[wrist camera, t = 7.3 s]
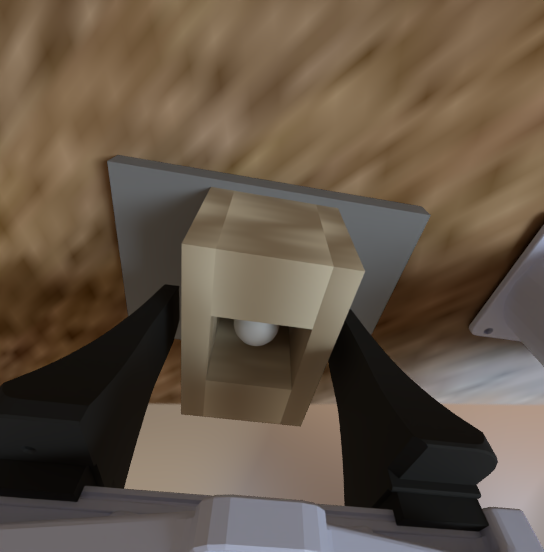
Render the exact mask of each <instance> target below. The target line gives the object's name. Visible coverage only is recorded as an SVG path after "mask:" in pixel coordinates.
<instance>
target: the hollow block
mask: <svg viewBox="0 0 544 552" xmlns="http://www.w3.org/2000/svg"><path fill="white" fill-rule="evenodd" d="M364 273H365V270H364V268H363V265H362V263H361V261H360V258H359V256H358V254H357V251H356V249H355V247H354V244H353V242H352V240H351V237H350V235H349V233H348V230H347V228H346V226H345V223H344V221H343V219H342V216H341V214H340V212H339V209H338V208H334V207H328V206H322V205H316V204H310V203H304V202H298V201H292V200H286V199H280V198H275V197H269V196H263V195H257V194H251V193H245V192H239V191H233V190H227V189H221V188H215V187H211V188H210V190H209V192H208V194H207V196H206V198H205V199H204V201H203V203H202V205H201V207H200V209H199V211H198V213H197V215H196V217H195V219H194V221H193V223H192V225H191V227H190V228H189V230H188V232H187V234H186V236H185V238H184V240H183V242H182V281H181V414H184V415H194V416H204V417H214V418H223V419H233V420H243V421H253V422H262V423H273V424H282V425H292V426H301V424H302V422H303V419H304V417H305V415H306V412H307V410H308V408H309V405H310V403H311V400H312V398H313V396H314V393H315V391H316V388H317V386H318V384H319V381H320V379H321V376H322V374H323V372H324V369H325V367H326V364H327V362H328V360H329V357H330V355H331V352H332V350H333V348H334V345H335V343H336V340H337V338H338V336H339V333H340V331H341V328H342V326H343V324H344V321H345V319H346V316H347V314H348V311H349V309H350V307H351V304H352V302H353V299H354V297H355V295H356V292H357V290H358V287H359V285H360V283H361V280H362V278H363V275H364ZM234 319H237V320H245V321H252V322H260V323H268V324H275V325H279V330H278V332H277V334H276V336H275V337H274V339H273V340H272V341H270V342H269V343H267V344H265V345H262V346H251V345H248V344H246V343H244V342H243V341H242V340H241V339H240V338H239V337H238V336H237V334H236V332H235V329H234Z"/></svg>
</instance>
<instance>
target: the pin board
mask: <svg viewBox="0 0 544 552" xmlns="http://www.w3.org/2000/svg"><path fill="white" fill-rule="evenodd" d="M107 163H108V171H109V178H110V185H111V193H112V200H113V208H114V215H115V222H116V230H117V237H118V245H119V252H120V259H121V267H122V274H123V281H124V289H125V296H126V304H127V311H128V316H130V315H131V314H132V313H133V312H134V311H136V310H137V309H138V308H139V307H140V306H141V305H143V304H144V303H145V302H146V301H147V300H148V299H149V298H150V297H152V296H153V295H154V294H155V293H156V292H157V291H158V290H159V289H160V288H161V287H162V286H163V285H165V284H168V285H176V286H179V304H180V321H179V324H178V328H177V331H176V335H175V338H174V339H180V340H181V281H182V242H183V240H184V238H185V236H186V234H187V232H188V230H189V228H190V227H191V225H192V223H193V221H194V219H195V217H196V215H197V213H198V211H199V209H200V207H201V205H202V203H203V201H204V199H205V198H206V196H207V194H208V192H209V190H210V188H211V187H215V188H221V189H227V190H233V191H239V192H245V193H251V194H257V195H263V196H269V197H275V198H280V199H286V200H292V201H298V202H304V203H310V204H316V205H322V206H328V207H334V208H338V209H339V212H340V214H341V216H342V219H343V221H344V223H345V226H346V228H347V230H348V233H349V235H350V237H351V240H352V242H353V244H354V247H355V249H356V251H357V254H358V256H359V258H360V261H361V263H362V265H363V268H364V270H365V273H364V275H363V278H362V280H361V283H360V285H359V287H358V290H357V292H356V295H355V297H354V299H353V302H352V304H351V307H350V309H351V310H352V311H353V312H354V314H355V315H356V316H357V318H358V319H359V320H360V322H361V323H362V324H363V326H364V327H365V328H366V330H367V331H368V332H369V333H370V335H371V334H372V332H373V330H374V328H375V326H376V324H377V322H378V320H379V318H380V316H381V314H382V312H383V310H384V308H385V306H386V304H387V302H388V300H389V298H390V296H391V294H392V292H393V290H394V288H395V286H396V284H397V282H398V280H399V278H400V276H401V274H402V272H403V270H404V268H405V266H406V264H407V262H408V260H409V258H410V256H411V254H412V252H413V250H414V248H415V246H416V244H417V242H418V240H419V238H420V236H421V234H422V232H423V230H424V228H425V225H426V223H427V221H428V219H429V217H430V214H429V213H428V212H427V211H426V210H425V209H424V208H423V207H421V206H415V205H409V204H403V203H398V202H392V201H386V200H380V199H374V198H368V197H362V196H356V195H350V194H345V193H339V192H333V191H327V190H321V189H315V188H309V187H303V186H297V185H292V184H286V183H280V182H274V181H268V180H262V179H256V178H250V177H244V176H239V175H233V174H227V173H221V172H215V171H209V170H203V169H197V168H191V167H186V166H180V165H174V164H168V163H162V162H156V161H150V160H144V159H138V158H132V157H127V156H121V155H117V156H115V157H113V158H112V159H110V160H108V161H107ZM234 329H235V332H236V334H237V336H238V337H239V338H240V339H241V340H242V341H243V342H244V343H246V344H248V345H251V346H262V345H265V344H267V343H269V342H270V341H272V340H273V339H274V337H275V336H276V334H277V332H278V330H279V325H275V324H268V323H260V322H252V321H245V320H237V319H234Z"/></svg>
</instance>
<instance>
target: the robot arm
mask: <svg viewBox="0 0 544 552" xmlns="http://www.w3.org/2000/svg"><path fill="white" fill-rule="evenodd" d="M179 321H180V304H179V286H176V285H168V284H165V285H163V286H162V287H161V288H160V289H159V290H158V291H157V292H156V293H155V294H154V295H153V296H152V297H150V298H149V299H148V300H147V301H146V302H145V303H144V304H143V305H141V306H140V307H139V308H138V309H137V310H136V311H134V312H133V313H132V314H131V315H130V316H128V317H127V318H126V319H124V320H123V321H122V322H121V323H119V324H118V325H117V326H115V327H114V328H112V329H111V330H110V331H108V332H107V333H105V334H104V335H102V336H101V337H99V338H98V339H96V340H94V341H93V342H91V343H89V344H88V345H86V346H84V347H82V348H80V349H79V350H77V351H75V352H73V353H71V354H70V355H68V356H66V357H64V358H62V359H59V360H57V361H55V362H53V363H51V364H49V365H47V366H44V367H42V368H40V369H38V370H35V371H33V372H30V373H28V374H25V375H23V376H20V377H18V378H15V379H13V380H10V381H7V382H5V383H3V384H2V385H1V386H0V552H544V549H543V547H542V545H541V544H540V542H539V540H538V538H537V536H536V535H535V533H534V531H533V529H532V527H531V526H530V524H529V522H528V520H527V518H526V516H525V515H524V513H523V511H521V510H520V509H510V508H498V507H488V508H483V509H482V508H481V506H480V504H479V502H478V500H477V499H479V498H480V497H481V494H480V491H479V489H478V487H477V485H476V484H478V483H479V482H480V481H482V479H484V478H485V477H487V476H488V475H489V474H490V473H491V472H492V471H493V470H494V469H495V467H496V465H497V463H498V461H497V457H496V455H495V453H494V452H493V450H492V448H491V446H490V444H489V443H488V441H487V439H486V437H485V436H484V434H483V432H481V431H480V430H478V429H477V428H475V427H473V426H472V425H470V424H469V423H467V422H466V421H464V420H463V419H461V418H460V417H458V416H457V415H455V414H454V413H452V412H451V411H450V410H448V409H447V408H446V407H444V406H443V405H442V404H440V403H439V402H438V401H436V400H435V399H434V398H433V397H431V396H430V395H429V394H428V393H426V392H425V391H424V390H423V389H422V388H421V387H419V386H418V385H417V384H416V383H415V382H414V381H413V380H411V379H410V378H409V377H408V376H407V375H406V374H405V373H404V372H403V371H402V370H401V369H400V368H399V367H398V366H397V365H396V364H395V363H394V362H393V361H392V360H391V358H390V357H389V356H388V355H387V354H386V353H385V352H384V351H383V349H382V348H381V347H380V346H379V345H378V343H377V342H376V341H375V340H374V339H373V337H372V336H371V335H370V333H369V332H368V331H367V330H366V328H365V327H364V326H363V324H362V323H361V322H360V320H359V319H358V318H357V316H356V315H355V314H354V312H353V311H352V310H351V309H349V311H348V314H347V316H346V319H345V321H344V324H343V326H342V328H341V331H340V333H339V336H338V338H337V340H336V343H335V345H334V348H333V350H332V352H331V355H330V357H329V360H328V363H329V368H330V373H331V378H332V382H333V387H334V392H335V397H336V402H337V407H338V413H339V423H340V433H341V445H342V457H343V475H344V501H345V506H337V505H325V504H315V503H313V502H307V501H303V500H292V499H279V498H266V497H255V496H241V495H214V496H210V495H197V494H184V493H172V492H159V491H146V490H134V489H124V486H125V482H126V478H127V475H128V471H129V467H130V463H131V460H132V456H133V453H134V449H135V446H136V442H137V438H138V435H139V432H140V429H141V426H142V422H143V419H144V415H145V412H146V409H147V406H148V403H149V400H150V397H151V393H152V391H153V388H154V386H155V383H156V381H157V378H158V376H159V374H160V371H161V369H162V367H163V364H164V362H165V360H166V358H167V355H168V353H169V351H170V348H171V346H172V343H173V341H174V338H175V335H176V331H177V328H178V324H179ZM469 330H470V331H471V333H472V334H473V335H477V336H484V337H492V338H499V339H507V340H514V341H521V342H522V343H523V344H524V345H525V346H526V347H527V348H528V349H529V351H530V352H531V353H532V354H533V355H534V356H535V357H536V358H537V360H538V361H539V362H540V363H541V364H542V365H543V366H544V225H543V226H542V228H541V229H540V230H539V232H538V233H537V234H536V236H535V237H534V238H533V240H532V241H531V243H530V244H529V245H528V247H527V248H526V249H525V251H524V252H523V253H522V255H521V256H520V257H519V259H518V260H517V262H516V263H515V264H514V266H513V267H512V268H511V270H510V271H509V272H508V274H507V275H506V276H505V278H504V279H503V281H502V282H501V283H500V285H499V286H498V287H497V289H496V290H495V291H494V293H493V294H492V296H491V297H490V298H489V300H488V301H487V302H486V304H485V305H484V306H483V308H482V309H481V310H480V312H479V313H478V315H477V316H476V317H475V319H474V320H473V321H472V323H471V324H470V326H469Z"/></svg>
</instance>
